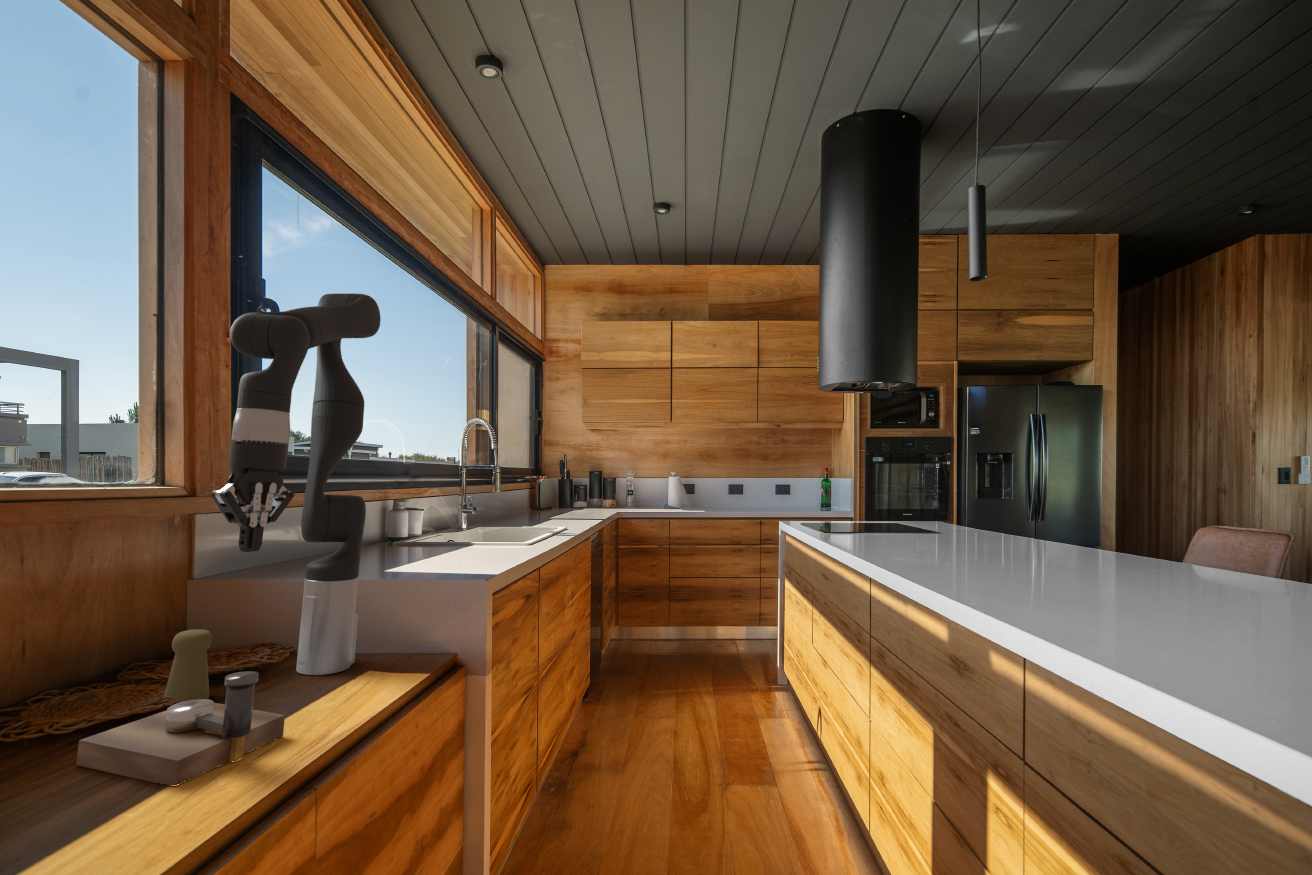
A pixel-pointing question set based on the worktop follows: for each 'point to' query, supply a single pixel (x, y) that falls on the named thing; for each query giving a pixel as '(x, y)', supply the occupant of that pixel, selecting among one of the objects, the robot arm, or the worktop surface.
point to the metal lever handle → (201, 710)
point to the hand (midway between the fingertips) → (249, 551)
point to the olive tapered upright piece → (189, 666)
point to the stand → (172, 747)
